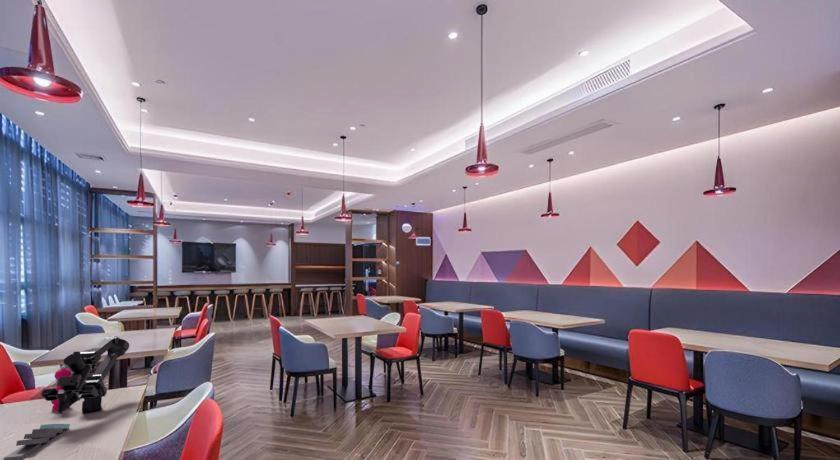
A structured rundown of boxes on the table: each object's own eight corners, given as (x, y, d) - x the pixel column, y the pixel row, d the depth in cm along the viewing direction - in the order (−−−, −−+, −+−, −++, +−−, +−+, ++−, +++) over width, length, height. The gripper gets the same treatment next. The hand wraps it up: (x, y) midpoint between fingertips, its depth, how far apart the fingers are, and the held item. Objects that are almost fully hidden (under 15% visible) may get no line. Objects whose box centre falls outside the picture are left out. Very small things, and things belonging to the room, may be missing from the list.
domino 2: (33, 438, 152) (17, 440, 143) (49, 437, 153) (34, 439, 144) (32, 443, 151) (15, 445, 142) (48, 442, 152) (33, 444, 144)
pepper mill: (74, 407, 189) (77, 364, 191) (56, 412, 182) (59, 367, 184) (65, 405, 192) (67, 362, 193) (46, 410, 185) (49, 366, 186)
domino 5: (55, 425, 164) (40, 425, 156) (70, 424, 165) (55, 423, 157) (54, 429, 164) (39, 429, 155) (68, 428, 165) (54, 428, 156)
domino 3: (41, 434, 156) (25, 434, 147) (56, 432, 157) (41, 432, 149) (40, 438, 155) (23, 439, 147) (55, 437, 157) (39, 437, 148)
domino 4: (48, 429, 160) (32, 429, 151) (63, 428, 161) (48, 428, 153) (47, 434, 159) (31, 434, 151) (62, 432, 161) (47, 432, 152)
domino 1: (25, 444, 148) (3, 457, 138) (41, 442, 149) (21, 455, 139) (24, 448, 148) (3, 462, 138) (41, 447, 149) (20, 460, 139)
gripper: (44, 369, 167) (22, 405, 156) (95, 366, 171) (77, 401, 159) (56, 382, 174) (36, 418, 163) (105, 379, 178) (88, 414, 167)
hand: (59, 413), depth 163 cm, fingers closed
